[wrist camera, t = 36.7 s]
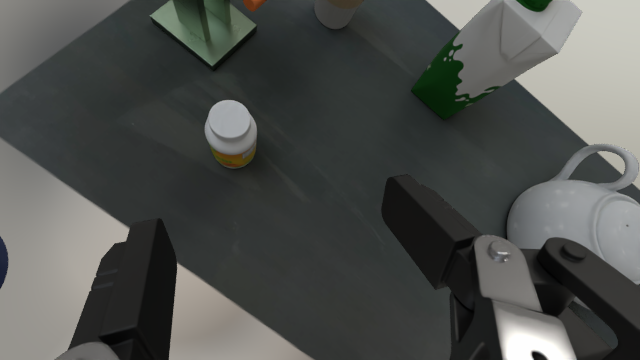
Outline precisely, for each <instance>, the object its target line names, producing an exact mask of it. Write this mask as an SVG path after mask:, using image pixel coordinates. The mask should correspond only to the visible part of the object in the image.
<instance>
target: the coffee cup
mask: <svg viewBox="0 0 640 360" xmlns="http://www.w3.org/2000/svg"><path fill="white" fill-rule="evenodd" d="M363 1H364V0H315V6H314V11H315V14H316V17H317V18H318V20H319V21H320V22H321V23H322V24H323V25H324V26H326V27H328V28H331V29H340V28H343V27H344V26H346V25H347V24H348V23H349V21H350V20H351V18H352V17H353V15H354V13H355V12H356V10H357V9H358V7H359V5H360V4H361V3H362V2H363Z"/></svg>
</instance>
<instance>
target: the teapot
mask: <svg viewBox="0 0 640 360" xmlns="http://www.w3.org/2000/svg"><path fill="white" fill-rule="evenodd" d="M598 151H609V152H613V153H616V154H617V155H619V156H620V157H621V158H622V159H623V160H624V162H625V171H624V174H623V175H622V177H621V178H620V179H619V180H617V181H615V182H613V183H600V184H594V183H590V182H586V181H580V180H567V179H568V177H569V176H570V175H571V174H572V172H573V171H574V169H575V168H576V166H577V165H578V164H579V163H580V162H581V161H582V160H583V159H584V158H585V157H587V156H588V155H590V154H592V153H594V152H598ZM638 171H639V163H638V161H637V159H636V157H635V156H634V155H633V154H632V153H631V152H629V151H628V150H626V149H624V148H622V147H619V146H615V145H609V144H594V145H590V146H587V147H584V148H582V149H581V150H579V151H578V152H576V153H575V154H574V155H573V156H572V157H571V158H570V159H569V160H568V162H567V163H566V165H565V166H564V168H563V169H562V170H561V172H560V173H559V174H558V175H557V176H555V177H554V178H552V179H551V180H549V181H548V182H544V183H541V184H538V185H535V186H533V187H531V188H529V189H527V190H526V191H524V192H523V193H522V194H521V195H520V196H519V197H518V198H517V199H516V200H515V202H514V203H513V205H512V207H511V209H510V212H509V215H508V220H507V239H508V241H510V242H511V243H513V244H514V245H516V246H517V247H518V248H521V249H541V248H542V246H543V245H544V243H545V242H546V240H547V239H549V238H552V237H560V238H566V239H569V240H572V241H575V242H577V243H579V244H581V245H583V246H585V247H586V248H588V249H589V250H591V251H592V252H593V253H595V254H596V255H597V256H599V257H600V258H601V259H603V260H604V261H605V262H607V263H608V264H609V265H611V266H612V267H614V268H615V269H616V270H618V271H619V272H620V273H622V274H623V275H624V276H626V277H627V278H628V279H630V280H631V281H633V282H634V283H635V284H637V285H638V284H640V205H639V204H638V203H637V202H636V201H635V200H633V199H632V198H630V197H628V196H626V195H622V194H619V193H617V192H615V191H616V190H619V189H622V188H624V187H626V186H628V185H630V184H631V183H632V182H633V181H634V180H635V179H636V177H637V175H638ZM574 301H575V302H576V303H578V304H579V305H581V306H583V307H585V308H587V309H589V308H588V307H587V306H586V305H585V304H584V303H583V302H582V301H580V300H579V299H578V298H577V297H575V298H574ZM589 310H590V309H589ZM591 311H592V310H591Z"/></svg>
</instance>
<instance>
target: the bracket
mask: <svg viewBox="0 0 640 360" xmlns="http://www.w3.org/2000/svg"><path fill="white" fill-rule="evenodd" d="M150 17H151V20H152V22H153V23H154V24H155V25H157V26H158V27H159V28H160V29H162V30H163V31H164V32H165V33H167V34H168V35H169V36H170V37H172V38H173V39H174V40H175V41H177V42H178V43H179V44H180V45H182V46H183V47H184V48H185V49H187V50H188V51H189V52H190V53H191V54H193V55H194V56H195V57H196V58H198V59H199V60H200V61H201V62H203V63H204V64H205V65H206V66H208V67H209V68H210V69H211V70H213V71H214V70H215V69H216V68H217V67H218V66H219V65H220V64H222V63H223V62H224V61H225V60H226V59H227V58H228V57H229V56H230V55H231V54H232V53H233V52H235V51H236V50H237V49H238V48H239V47H240V46H241V45H242V44H243V43H244V42H245V41H246V40H248V39H249V38H250V37H251V36H252V35H253V34H254V33H255V32H256V31H257V25H256V24H254V23H253V22H252V21H251V20H250V19H248V18H247V17H246V16H245V15H244V14H242V13H241V12H240V11H239V10H237V9H236V8H235V7H234V6H233V5H231V4H230V1H229V0H170V1H169V2H167V3H166V4H165V5H163V6H162V7H161V8H159V9H158V10H157V11H155V12H154V13H153V14H152V15H150Z"/></svg>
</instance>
